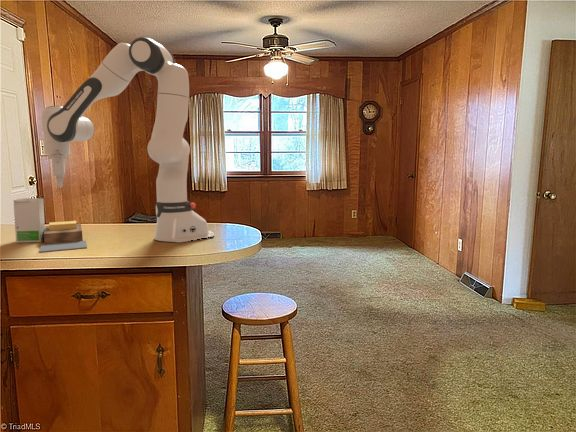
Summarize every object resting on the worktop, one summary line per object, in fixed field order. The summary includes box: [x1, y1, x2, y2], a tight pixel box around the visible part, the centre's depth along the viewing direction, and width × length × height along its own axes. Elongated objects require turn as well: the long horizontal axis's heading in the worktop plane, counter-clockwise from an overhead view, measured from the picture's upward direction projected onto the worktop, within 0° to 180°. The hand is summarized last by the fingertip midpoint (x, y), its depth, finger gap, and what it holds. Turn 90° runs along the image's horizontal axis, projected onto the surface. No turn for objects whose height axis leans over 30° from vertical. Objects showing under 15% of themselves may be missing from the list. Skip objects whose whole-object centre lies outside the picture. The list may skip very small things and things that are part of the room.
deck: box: [43, 223, 84, 244], centre depth 154 cm, size 12×16×4 cm
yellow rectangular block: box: [48, 220, 78, 231], centre depth 154 cm, size 9×6×2 cm, turn 118°
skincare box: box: [13, 197, 46, 244], centre depth 150 cm, size 8×7×16 cm
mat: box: [39, 240, 88, 254], centre depth 142 cm, size 14×11×1 cm
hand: (60, 186), depth 158 cm, fingers open, 6 cm apart
